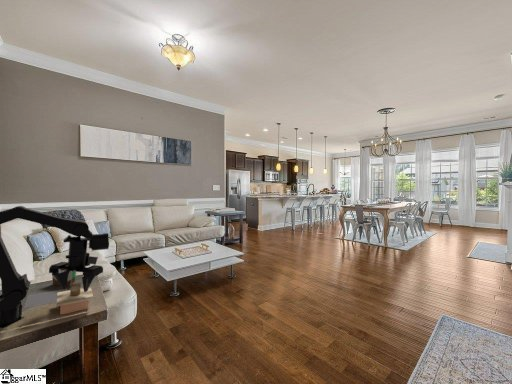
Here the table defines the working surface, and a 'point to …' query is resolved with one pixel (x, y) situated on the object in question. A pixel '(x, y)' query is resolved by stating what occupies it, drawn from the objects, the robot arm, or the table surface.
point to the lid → (74, 295)
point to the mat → (42, 298)
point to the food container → (70, 279)
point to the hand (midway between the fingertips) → (75, 290)
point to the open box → (74, 307)
